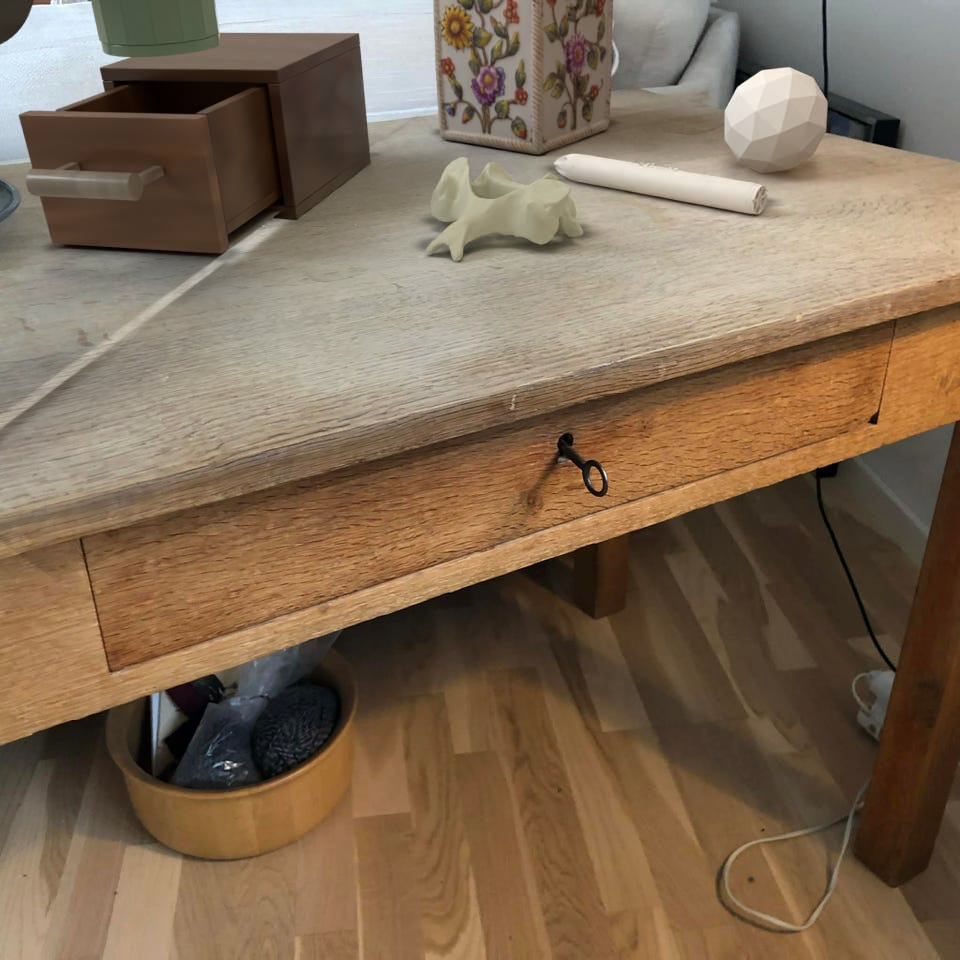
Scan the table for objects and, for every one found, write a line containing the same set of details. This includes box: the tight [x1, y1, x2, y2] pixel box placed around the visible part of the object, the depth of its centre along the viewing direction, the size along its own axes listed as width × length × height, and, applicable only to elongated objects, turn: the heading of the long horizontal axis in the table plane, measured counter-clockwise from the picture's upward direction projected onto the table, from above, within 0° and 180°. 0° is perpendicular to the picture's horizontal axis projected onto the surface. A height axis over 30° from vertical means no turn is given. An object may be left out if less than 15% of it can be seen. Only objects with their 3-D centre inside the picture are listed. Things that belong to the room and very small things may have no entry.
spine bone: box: [426, 156, 584, 262], centre depth 68 cm, size 12×10×5 cm
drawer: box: [18, 81, 283, 254], centre depth 69 cm, size 19×13×8 cm, turn 165°
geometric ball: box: [724, 66, 829, 174], centre depth 79 cm, size 8×8×8 cm
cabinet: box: [99, 32, 372, 220], centre depth 80 cm, size 16×14×10 cm
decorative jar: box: [432, 0, 614, 156], centre depth 89 cm, size 12×12×18 cm
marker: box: [552, 153, 768, 215], centre depth 76 cm, size 18×2×2 cm, turn 50°
